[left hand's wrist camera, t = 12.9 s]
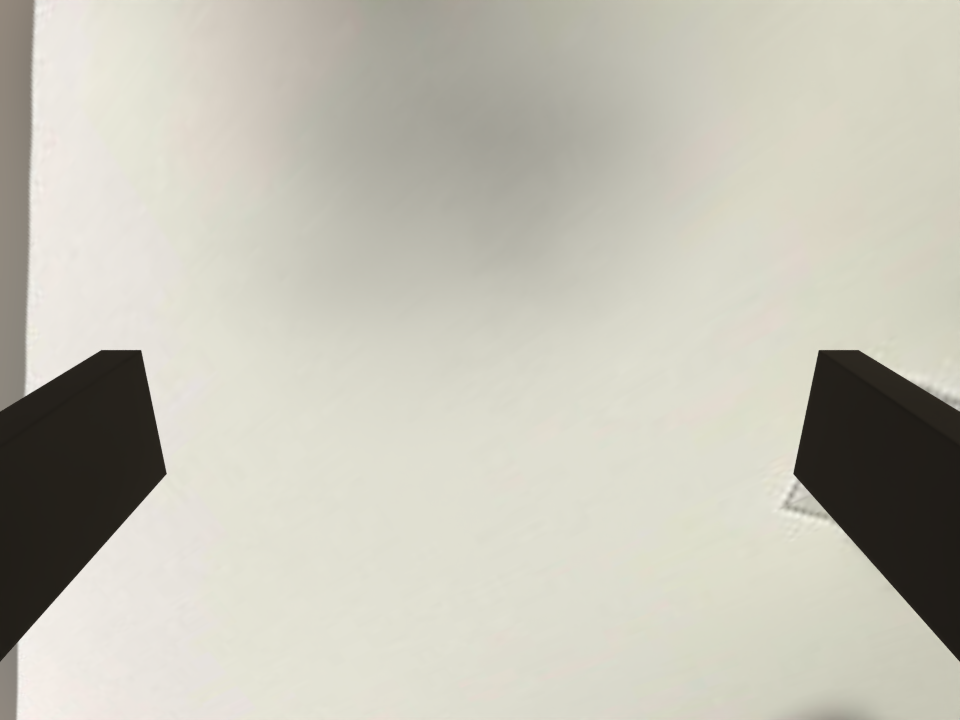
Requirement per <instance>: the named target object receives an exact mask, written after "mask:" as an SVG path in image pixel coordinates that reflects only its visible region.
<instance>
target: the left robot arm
mask: <svg viewBox="0 0 960 720" xmlns="http://www.w3.org/2000/svg"><path fill="white" fill-rule="evenodd" d="M166 474H167V473H166V468H165V464H164V459H163V454H162V449H161V444H160V439H159V435H158V430H157V425H156V420H155V415H154V410H153V406H152V401H151V396H150V391H149V386H148V381H147V376H146V372H145V367H144V362H143V357H142V352H141V350H101V351H99V352H98V353H96V354H94V355H93V356H91V357H90V358H88V359H86V360H85V361H83V362H81V363H80V364H78V365H76V366H75V367H73V368H71V369H70V370H68V371H66V372H65V373H63V374H62V375H60V376H58V377H57V378H55V379H53V380H52V381H50V382H48V383H47V384H45V385H43V386H42V387H40V388H38V389H37V390H35V391H34V392H32V393H30V394H29V395H27V396H25V397H24V398H22V399H20V400H19V401H17V402H15V403H14V404H12V405H11V406H9V407H7V408H6V409H4V410H2V411H1V412H0V661H1V660H2V659H3V658H4V657H5V656H6V654H7V653H8V652H9V651H10V650H11V649H12V648H13V647H14V645H15V644H16V643H17V642H18V641H19V640H20V639H21V638H22V636H23V635H24V634H25V633H26V632H27V631H28V630H29V629H30V627H31V626H32V625H33V624H34V623H35V622H36V621H37V620H38V618H39V617H40V616H41V615H42V614H43V613H44V612H45V611H46V609H47V608H48V607H49V606H50V605H51V604H52V603H53V602H54V600H55V599H56V598H57V597H58V596H59V595H60V594H61V592H62V591H63V590H64V589H65V588H66V587H67V586H68V585H69V583H70V582H71V581H72V580H73V579H74V578H75V577H76V576H77V574H78V573H79V572H80V571H81V570H82V569H83V568H84V567H85V565H86V564H87V563H88V562H89V561H90V560H91V559H92V558H93V556H94V555H95V554H96V553H97V552H98V551H99V550H100V548H101V547H102V546H103V545H104V544H105V543H106V542H107V541H108V539H109V538H110V537H111V536H112V535H113V534H114V533H115V532H116V530H117V529H118V528H119V527H120V526H121V525H122V524H123V523H124V521H125V520H126V519H127V518H128V517H129V516H130V515H131V514H132V512H133V511H134V510H135V509H136V508H137V507H138V506H139V504H140V503H141V502H142V501H143V500H144V499H145V498H146V497H147V495H148V494H149V493H150V492H151V491H152V490H153V489H154V488H155V486H156V485H157V484H158V483H159V482H160V481H161V480H162V479H163V477H164V476H165V475H166ZM793 474H794V475H795V476H796V477H797V479H798V480H799V481H800V482H801V483H802V484H803V485H804V486H805V488H806V489H807V490H808V491H809V492H810V493H811V494H812V495H813V497H814V498H815V499H816V500H817V501H818V502H819V503H820V504H821V506H822V507H823V508H824V509H825V510H826V511H827V512H828V514H829V515H830V516H831V517H832V518H833V519H834V520H835V521H836V523H837V524H838V525H839V526H840V527H841V528H842V529H843V530H844V532H845V533H846V534H847V535H848V536H849V537H850V538H851V539H852V541H853V542H854V543H855V544H856V545H857V546H858V547H859V548H860V550H861V551H862V552H863V553H864V554H865V555H866V556H867V558H868V559H869V560H870V561H871V562H872V563H873V564H874V565H875V567H876V568H877V569H878V570H879V571H880V572H881V573H882V574H883V576H884V577H885V578H886V579H887V580H888V581H889V582H890V583H891V585H892V586H893V587H894V588H895V589H896V590H897V591H898V592H899V594H900V595H901V596H902V597H903V598H904V599H905V600H906V602H907V603H908V604H909V605H910V606H911V607H912V608H913V609H914V611H915V612H916V613H917V614H918V615H919V616H920V617H921V618H922V620H923V621H924V622H925V623H926V624H927V625H928V626H929V627H930V629H931V630H932V631H933V632H934V633H935V634H936V635H937V636H938V638H939V639H940V640H941V641H942V642H943V643H944V644H945V646H946V647H947V648H948V649H949V650H950V651H951V652H952V653H953V655H954V656H955V657H956V658H957V659H958V660H959V661H960V412H959V411H958V410H956V409H954V408H953V407H951V406H949V405H948V404H946V403H945V402H943V401H941V400H940V399H938V398H936V397H935V396H933V395H931V394H930V393H928V392H926V391H925V390H923V389H922V388H920V387H918V386H917V385H915V384H913V383H912V382H910V381H908V380H907V379H905V378H903V377H902V376H900V375H898V374H897V373H895V372H894V371H892V370H890V369H889V368H887V367H885V366H884V365H882V364H880V363H879V362H877V361H875V360H874V359H872V358H870V357H869V356H867V355H866V354H864V353H862V352H861V351H859V350H819V352H818V357H817V362H816V367H815V372H814V376H813V381H812V386H811V391H810V396H809V401H808V406H807V410H806V415H805V420H804V425H803V430H802V435H801V439H800V444H799V449H798V454H797V459H796V464H795V468H794V473H793Z"/></svg>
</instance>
